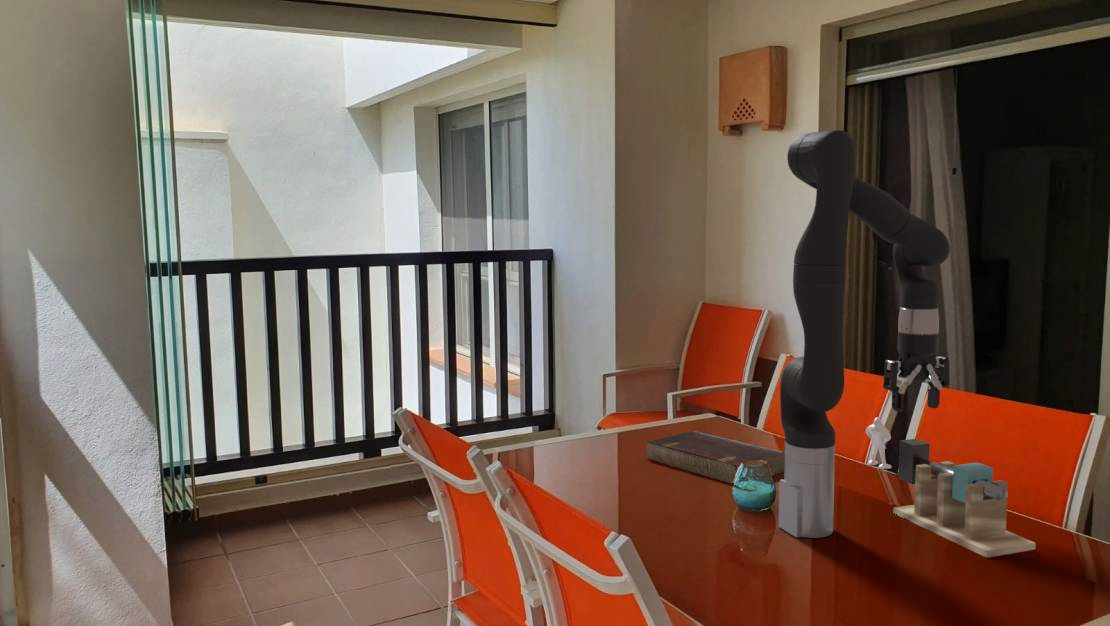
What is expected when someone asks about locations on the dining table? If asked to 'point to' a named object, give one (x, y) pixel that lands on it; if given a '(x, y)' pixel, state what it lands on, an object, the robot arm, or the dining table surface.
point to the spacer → (969, 478)
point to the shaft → (932, 466)
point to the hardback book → (711, 454)
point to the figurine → (878, 442)
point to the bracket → (963, 514)
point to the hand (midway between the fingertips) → (915, 409)
